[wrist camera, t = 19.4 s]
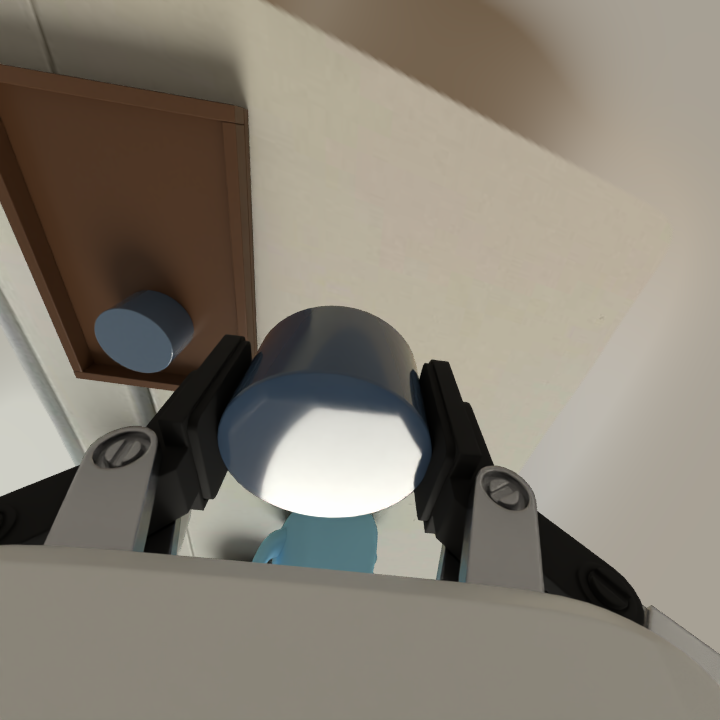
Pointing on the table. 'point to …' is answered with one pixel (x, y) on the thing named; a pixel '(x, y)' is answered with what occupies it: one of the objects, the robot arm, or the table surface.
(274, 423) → the blue-grey hockey puck
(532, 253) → the table surface
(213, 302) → the tray
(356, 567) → the teapot
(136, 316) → the blue short cylinder
